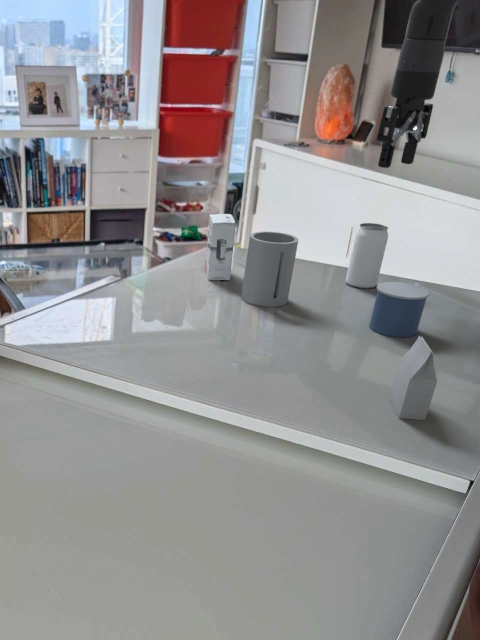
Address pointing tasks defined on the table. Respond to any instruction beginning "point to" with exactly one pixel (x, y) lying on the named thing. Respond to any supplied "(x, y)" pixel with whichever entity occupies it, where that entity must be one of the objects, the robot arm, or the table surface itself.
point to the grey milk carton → (414, 382)
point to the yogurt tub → (398, 309)
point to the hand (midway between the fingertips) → (395, 165)
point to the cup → (269, 268)
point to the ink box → (220, 246)
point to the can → (367, 255)
